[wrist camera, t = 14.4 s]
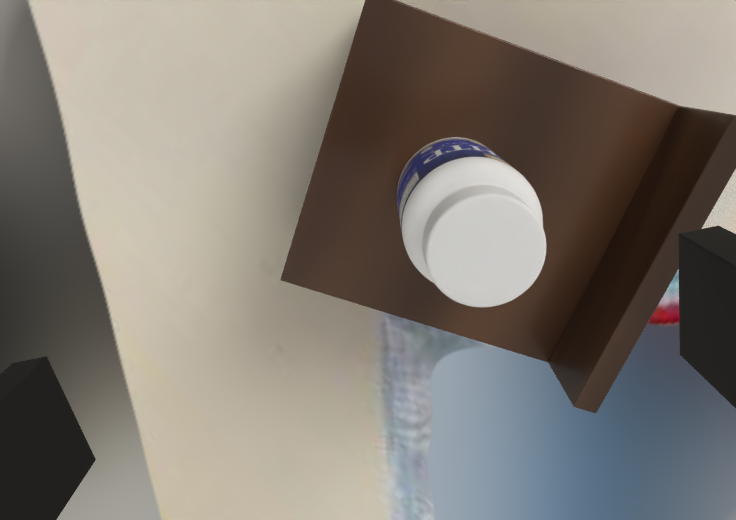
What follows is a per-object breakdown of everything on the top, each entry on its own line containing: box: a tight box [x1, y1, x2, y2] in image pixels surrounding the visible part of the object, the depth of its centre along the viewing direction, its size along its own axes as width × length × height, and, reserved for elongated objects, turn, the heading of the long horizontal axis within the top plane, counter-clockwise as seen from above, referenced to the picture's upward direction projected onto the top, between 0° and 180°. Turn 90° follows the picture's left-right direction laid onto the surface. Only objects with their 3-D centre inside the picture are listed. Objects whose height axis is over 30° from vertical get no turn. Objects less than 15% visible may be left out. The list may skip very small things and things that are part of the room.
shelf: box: [281, 0, 736, 413], centre depth 28 cm, size 16×14×12 cm
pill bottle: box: [397, 137, 546, 307], centre depth 22 cm, size 5×5×9 cm
